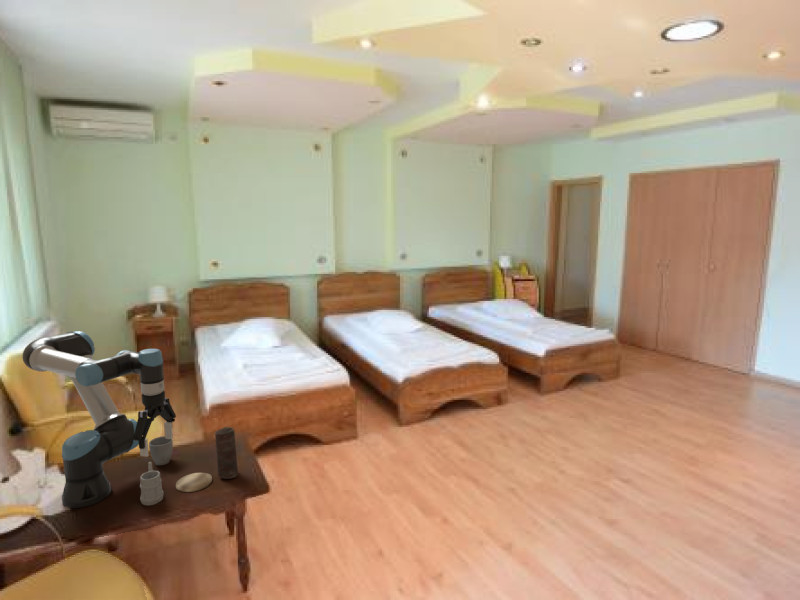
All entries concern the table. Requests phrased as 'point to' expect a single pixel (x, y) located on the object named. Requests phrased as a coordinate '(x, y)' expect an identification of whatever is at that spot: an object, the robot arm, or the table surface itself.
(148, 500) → the mug
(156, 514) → the table surface
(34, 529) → the table surface
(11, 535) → the table surface
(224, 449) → the candle
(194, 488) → the coaster
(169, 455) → the mug
